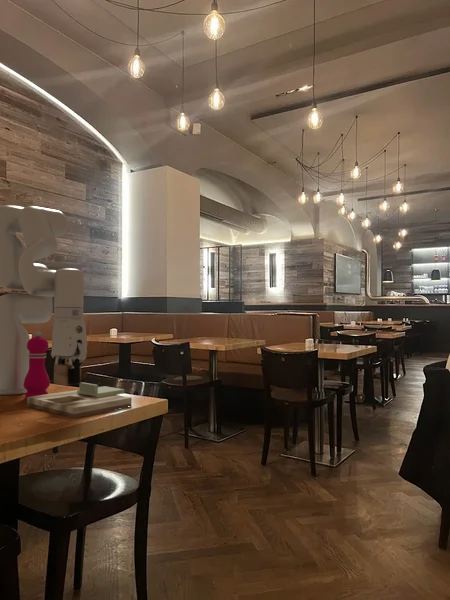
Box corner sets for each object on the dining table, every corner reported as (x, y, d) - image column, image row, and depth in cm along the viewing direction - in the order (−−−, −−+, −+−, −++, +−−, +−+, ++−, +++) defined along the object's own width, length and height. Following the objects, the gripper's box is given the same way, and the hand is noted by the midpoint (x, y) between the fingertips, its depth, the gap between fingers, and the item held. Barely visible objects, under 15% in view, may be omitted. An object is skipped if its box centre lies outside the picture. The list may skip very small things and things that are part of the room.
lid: (77, 394, 130) (77, 382, 130) (104, 390, 137) (104, 378, 137) (96, 397, 124) (97, 385, 124) (124, 393, 132) (124, 381, 132)
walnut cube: (70, 381, 125) (70, 363, 125) (81, 383, 122) (81, 364, 122) (53, 383, 121) (53, 364, 121) (64, 385, 118) (64, 366, 118)
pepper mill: (40, 401, 132) (41, 332, 133) (17, 399, 133) (19, 331, 134) (54, 396, 139) (55, 331, 140) (33, 395, 141) (34, 330, 141)
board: (26, 406, 124) (27, 397, 125) (83, 397, 139) (83, 389, 139) (74, 418, 111) (74, 407, 111) (131, 406, 125) (131, 397, 125)
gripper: (100, 314, 120) (99, 383, 120) (62, 314, 131) (61, 378, 130) (75, 314, 114) (74, 387, 114) (38, 314, 125) (37, 381, 124)
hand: (67, 381), depth 122 cm, fingers closed on walnut cube, 5 cm apart
